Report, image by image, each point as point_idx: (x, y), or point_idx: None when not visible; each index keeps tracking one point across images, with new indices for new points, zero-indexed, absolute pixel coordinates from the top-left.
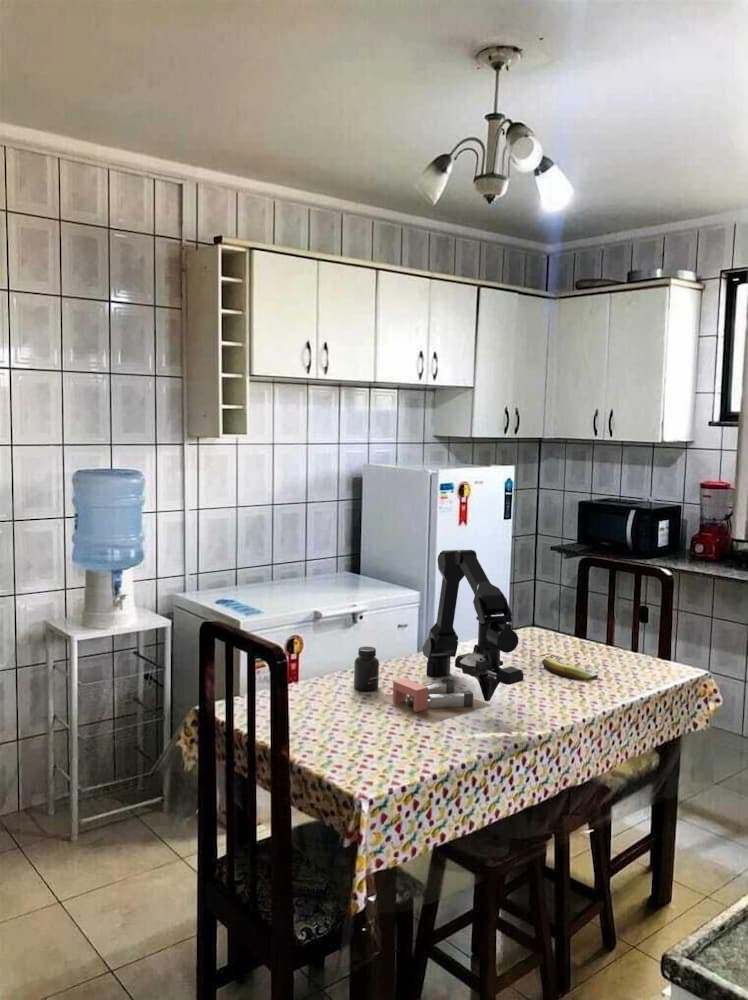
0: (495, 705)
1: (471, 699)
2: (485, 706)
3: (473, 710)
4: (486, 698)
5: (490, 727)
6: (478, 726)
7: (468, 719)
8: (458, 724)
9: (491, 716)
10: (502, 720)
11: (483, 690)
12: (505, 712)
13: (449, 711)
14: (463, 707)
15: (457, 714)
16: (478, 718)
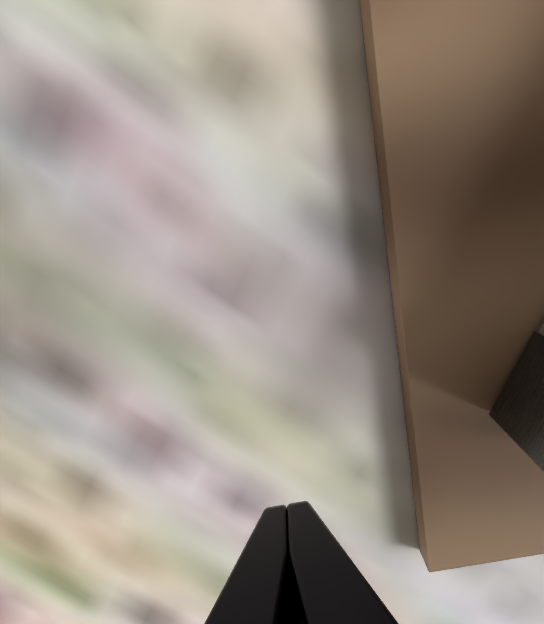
0: (443, 603)
1: (539, 441)
2: (427, 513)
3: (406, 363)
4: (266, 532)
5: (27, 288)
6: (91, 195)
7: (297, 217)
8: (225, 19)
9: (260, 449)
10: (140, 475)
11: (321, 616)
12: None
13: (532, 104)
14: (530, 323)
15: (406, 135)
16: (273, 322)
